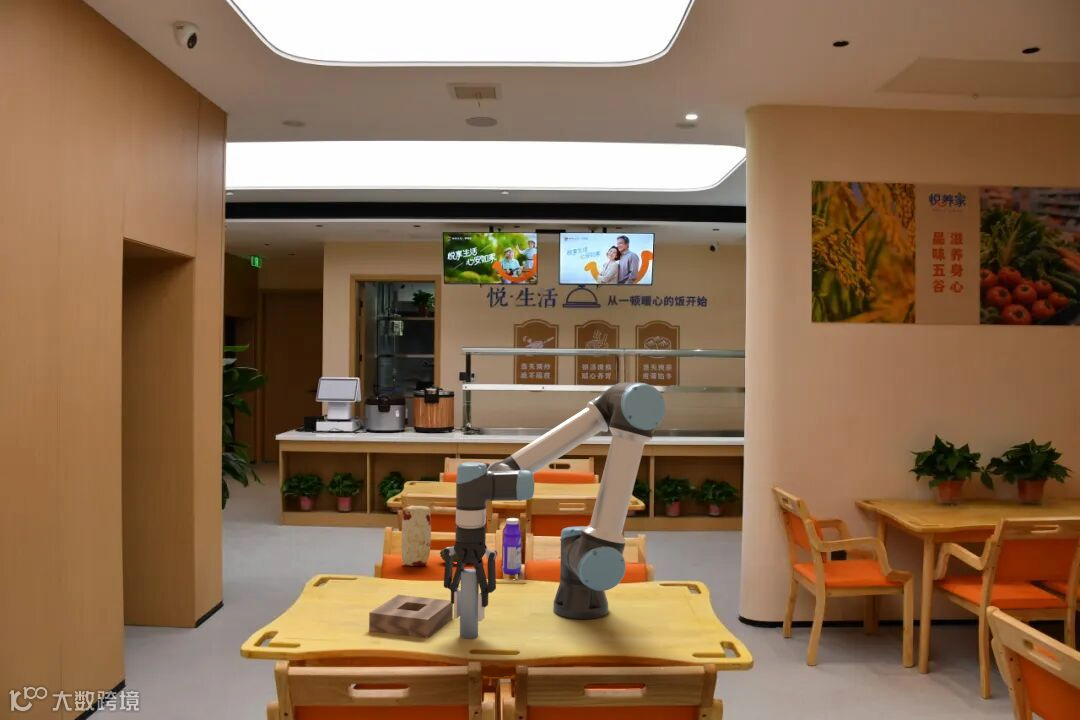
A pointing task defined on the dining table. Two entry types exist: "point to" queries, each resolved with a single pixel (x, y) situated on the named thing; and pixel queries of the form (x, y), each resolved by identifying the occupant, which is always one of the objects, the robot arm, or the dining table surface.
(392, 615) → the socket block
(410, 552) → the food model
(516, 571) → the bottle
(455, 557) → the fruit
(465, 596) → the peg
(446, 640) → the dining table surface
